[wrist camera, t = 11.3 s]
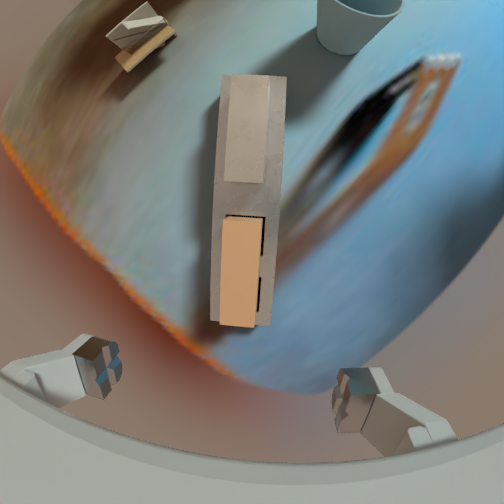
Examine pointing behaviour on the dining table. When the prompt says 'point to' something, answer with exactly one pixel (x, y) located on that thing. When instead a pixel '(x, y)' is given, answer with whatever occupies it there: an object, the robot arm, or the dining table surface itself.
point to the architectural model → (139, 35)
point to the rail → (250, 197)
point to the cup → (353, 22)
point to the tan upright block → (240, 270)
